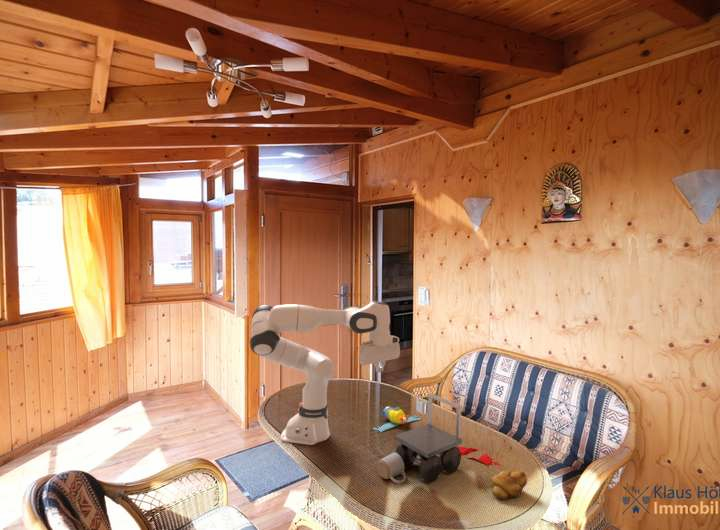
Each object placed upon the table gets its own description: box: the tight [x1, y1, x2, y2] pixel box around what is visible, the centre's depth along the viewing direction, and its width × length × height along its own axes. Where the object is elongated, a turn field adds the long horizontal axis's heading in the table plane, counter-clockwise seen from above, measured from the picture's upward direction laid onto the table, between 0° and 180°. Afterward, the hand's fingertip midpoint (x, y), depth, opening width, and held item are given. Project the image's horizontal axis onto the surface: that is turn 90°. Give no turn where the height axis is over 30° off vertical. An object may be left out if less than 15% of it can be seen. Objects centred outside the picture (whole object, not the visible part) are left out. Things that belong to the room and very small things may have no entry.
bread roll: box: [491, 470, 528, 500], centre depth 146 cm, size 13×10×8 cm
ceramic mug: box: [376, 451, 406, 485], centre depth 156 cm, size 11×8×8 cm
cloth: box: [455, 445, 501, 468], centre depth 173 cm, size 26×14×2 cm, turn 35°
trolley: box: [394, 393, 463, 484], centre depth 161 cm, size 21×18×26 cm
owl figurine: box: [372, 405, 422, 434], centre depth 204 cm, size 28×9×15 cm
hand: (379, 371), depth 175 cm, fingers closed
